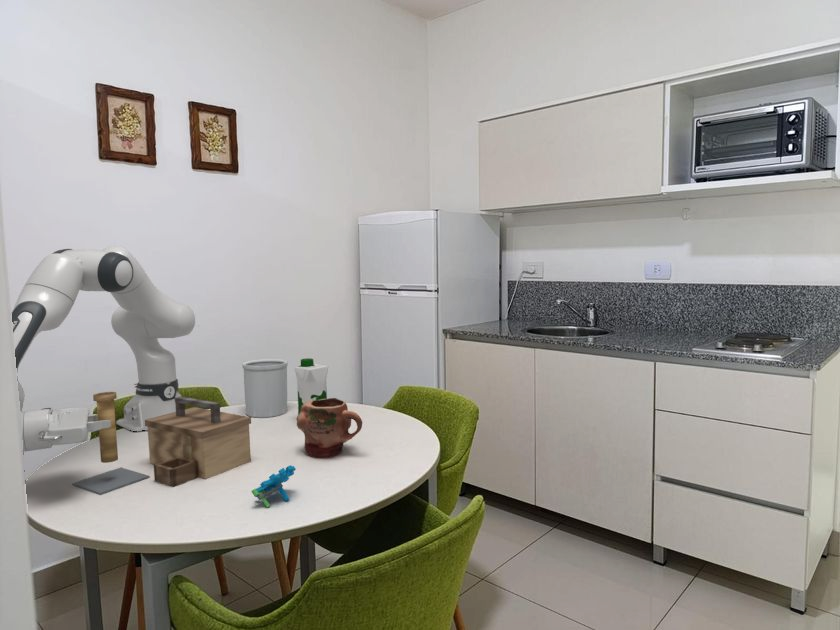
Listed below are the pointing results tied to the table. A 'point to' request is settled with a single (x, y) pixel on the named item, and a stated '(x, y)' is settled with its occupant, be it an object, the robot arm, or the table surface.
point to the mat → (110, 480)
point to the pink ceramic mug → (326, 426)
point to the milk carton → (310, 382)
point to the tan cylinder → (107, 434)
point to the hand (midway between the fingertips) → (110, 420)
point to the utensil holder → (265, 387)
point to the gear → (274, 485)
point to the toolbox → (196, 442)
